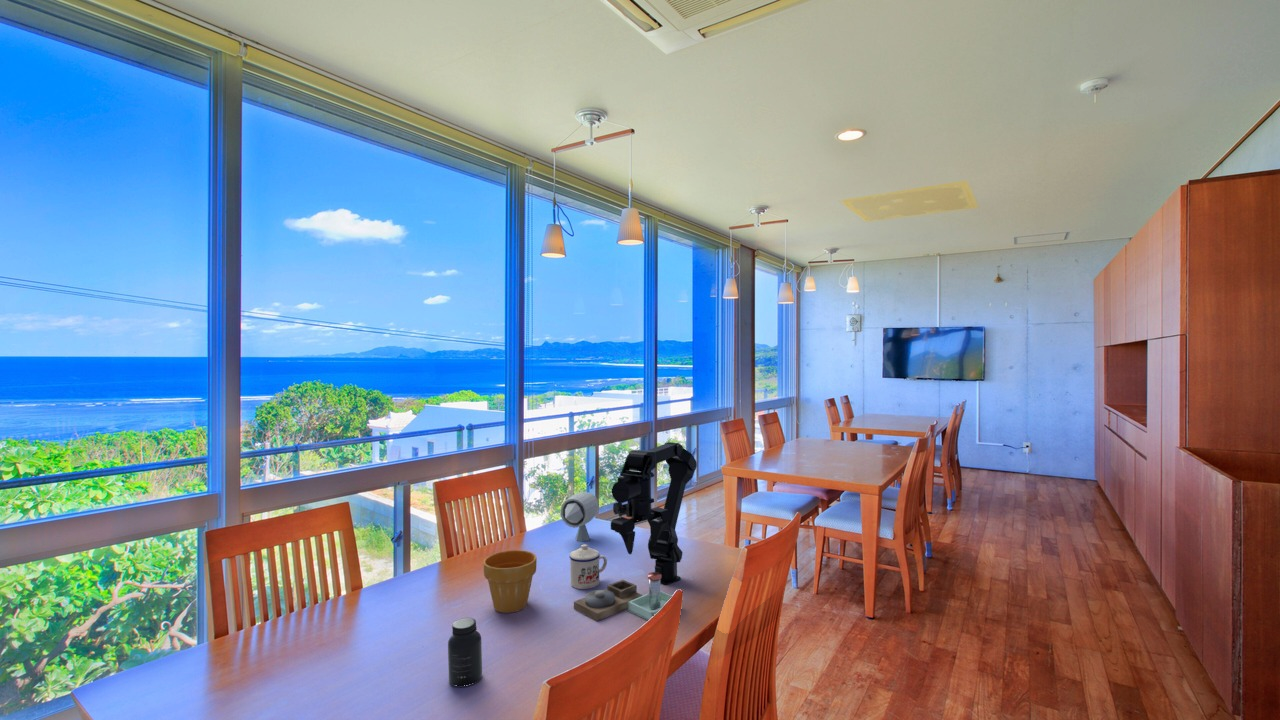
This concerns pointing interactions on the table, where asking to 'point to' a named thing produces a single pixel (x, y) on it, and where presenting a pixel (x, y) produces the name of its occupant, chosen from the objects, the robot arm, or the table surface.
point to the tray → (646, 605)
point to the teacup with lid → (585, 567)
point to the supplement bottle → (464, 653)
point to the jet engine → (580, 513)
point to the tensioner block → (607, 600)
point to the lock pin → (654, 590)
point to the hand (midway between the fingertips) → (641, 549)
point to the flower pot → (510, 578)
